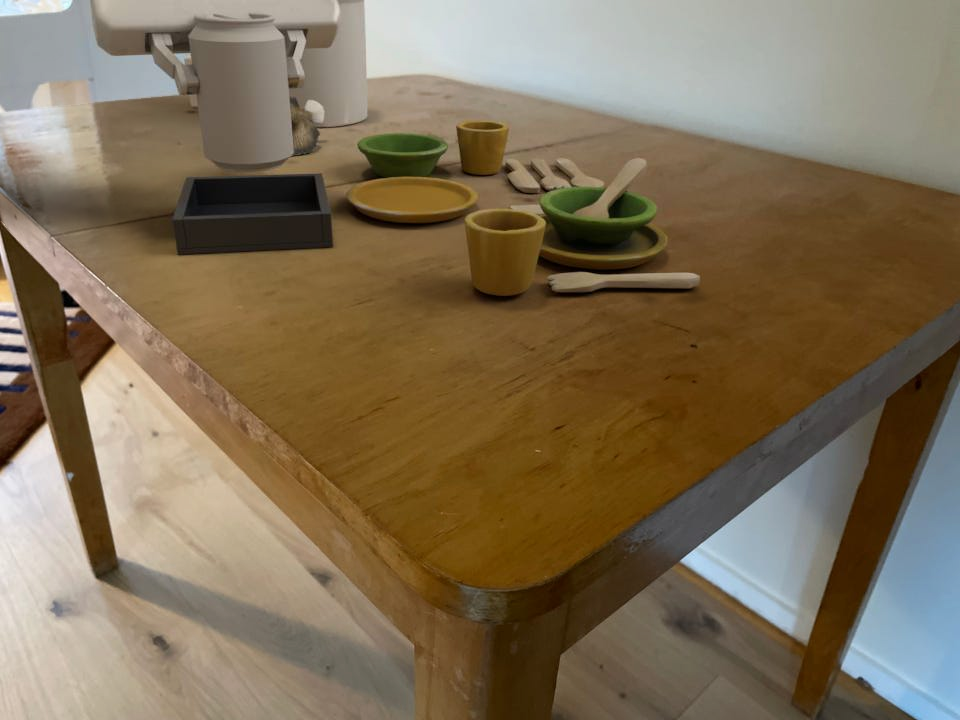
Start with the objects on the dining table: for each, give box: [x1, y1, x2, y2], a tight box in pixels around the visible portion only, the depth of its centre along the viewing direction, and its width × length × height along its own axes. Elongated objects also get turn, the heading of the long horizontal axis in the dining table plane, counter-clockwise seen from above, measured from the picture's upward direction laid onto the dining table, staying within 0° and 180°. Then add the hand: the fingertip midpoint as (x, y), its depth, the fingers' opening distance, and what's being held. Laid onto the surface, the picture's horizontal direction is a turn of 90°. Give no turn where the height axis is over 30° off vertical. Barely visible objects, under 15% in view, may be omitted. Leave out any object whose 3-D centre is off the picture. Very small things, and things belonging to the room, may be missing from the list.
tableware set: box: [345, 119, 701, 297], centre depth 74 cm, size 41×28×6 cm
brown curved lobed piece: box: [289, 97, 325, 157], centre depth 96 cm, size 8×7×9 cm
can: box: [188, 13, 294, 173], centre depth 65 cm, size 8×8×12 cm
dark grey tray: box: [171, 172, 334, 256], centre depth 70 cm, size 13×13×3 cm
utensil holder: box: [286, 0, 368, 128], centre depth 108 cm, size 15×15×18 cm
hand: (245, 87), depth 64 cm, fingers closed on can, 7 cm apart
